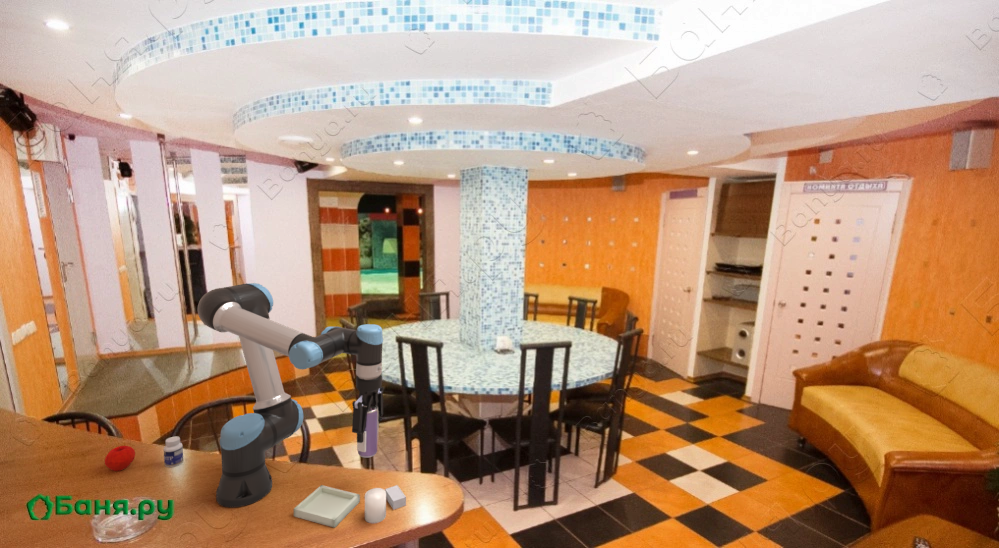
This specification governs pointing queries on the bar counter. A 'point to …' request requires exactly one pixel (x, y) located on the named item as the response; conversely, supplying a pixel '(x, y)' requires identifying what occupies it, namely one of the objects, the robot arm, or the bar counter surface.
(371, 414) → the beverage can
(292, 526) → the bar counter surface
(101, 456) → the bar counter surface
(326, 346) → the robot arm
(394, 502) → the pale rectangular cuboid
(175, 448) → the pill bottle
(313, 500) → the tray
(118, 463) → the apple
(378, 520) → the white rounded capsule
